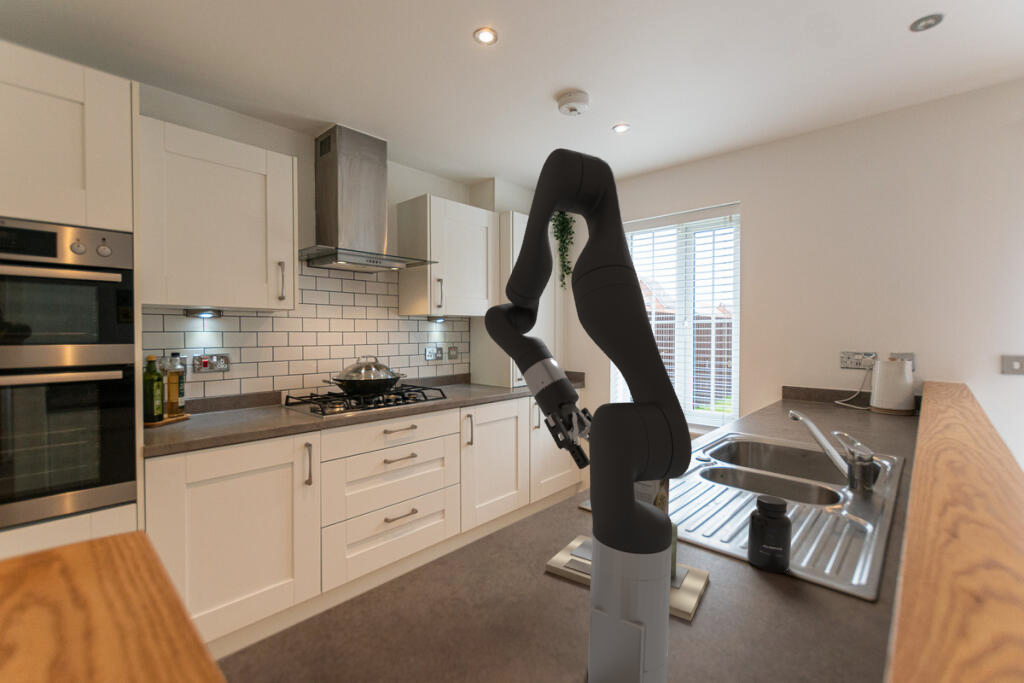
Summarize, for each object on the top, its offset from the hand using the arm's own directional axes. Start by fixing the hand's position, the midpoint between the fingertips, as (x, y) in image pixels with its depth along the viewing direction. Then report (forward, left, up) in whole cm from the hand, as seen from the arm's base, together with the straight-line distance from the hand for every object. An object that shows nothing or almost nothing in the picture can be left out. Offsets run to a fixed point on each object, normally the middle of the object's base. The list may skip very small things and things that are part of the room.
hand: (595, 462), depth 83 cm
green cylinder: (+1, -12, -17) cm, 20 cm away
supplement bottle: (+18, -27, -18) cm, 37 cm away
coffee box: (+24, -3, -18) cm, 31 cm away
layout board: (-1, -7, -18) cm, 19 cm away
